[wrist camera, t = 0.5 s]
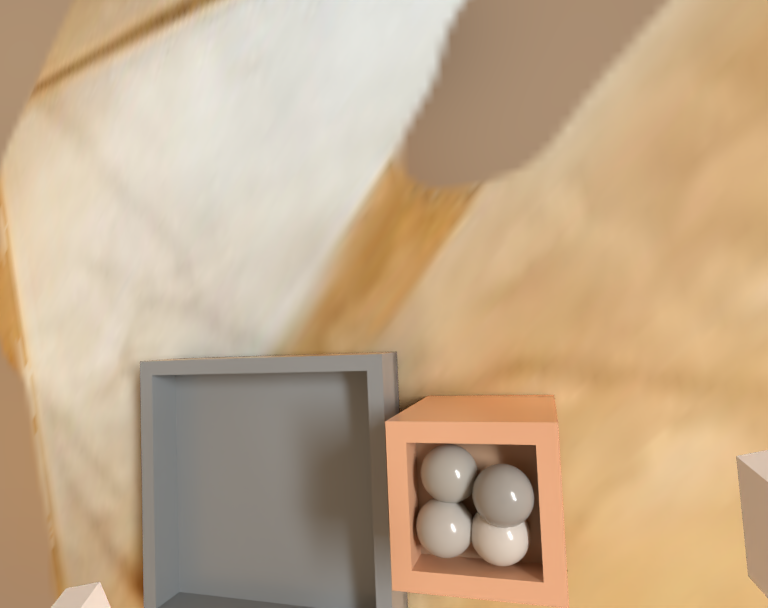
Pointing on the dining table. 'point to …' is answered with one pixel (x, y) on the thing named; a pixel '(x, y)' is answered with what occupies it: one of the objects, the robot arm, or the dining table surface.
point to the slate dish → (267, 481)
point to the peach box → (478, 499)
